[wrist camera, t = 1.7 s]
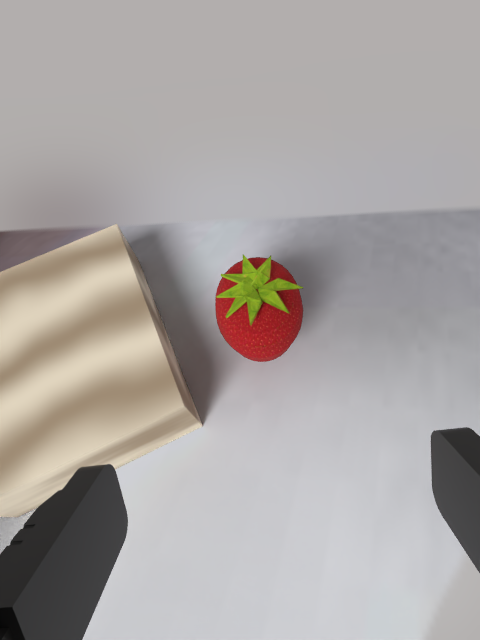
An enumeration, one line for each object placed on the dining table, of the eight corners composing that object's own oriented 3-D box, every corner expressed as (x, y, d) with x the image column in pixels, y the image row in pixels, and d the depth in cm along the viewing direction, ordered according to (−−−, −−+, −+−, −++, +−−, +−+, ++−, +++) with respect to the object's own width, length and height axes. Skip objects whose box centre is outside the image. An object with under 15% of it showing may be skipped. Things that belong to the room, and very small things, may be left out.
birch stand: (1, 319, 33) (-42, 289, 29) (138, 261, 35) (116, 223, 30) (17, 517, 24) (-43, 515, 20) (202, 426, 25) (184, 406, 21)
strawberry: (292, 298, 30) (291, 208, 21) (310, 380, 26) (317, 310, 18) (224, 309, 30) (197, 224, 22) (232, 392, 26) (203, 328, 18)
